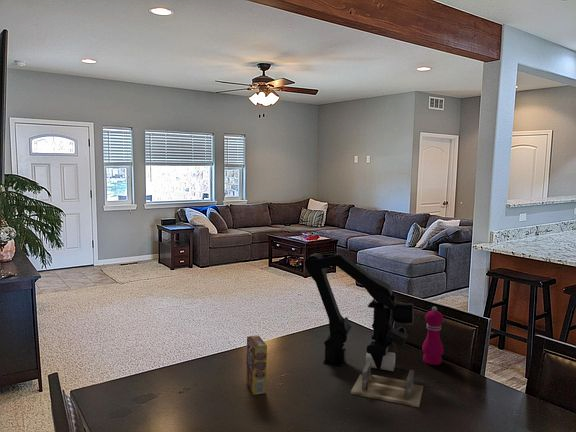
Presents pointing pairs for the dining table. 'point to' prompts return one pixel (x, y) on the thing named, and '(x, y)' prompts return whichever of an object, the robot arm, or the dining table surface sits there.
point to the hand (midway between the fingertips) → (380, 364)
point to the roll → (383, 361)
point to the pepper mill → (433, 338)
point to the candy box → (256, 364)
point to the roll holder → (388, 388)
